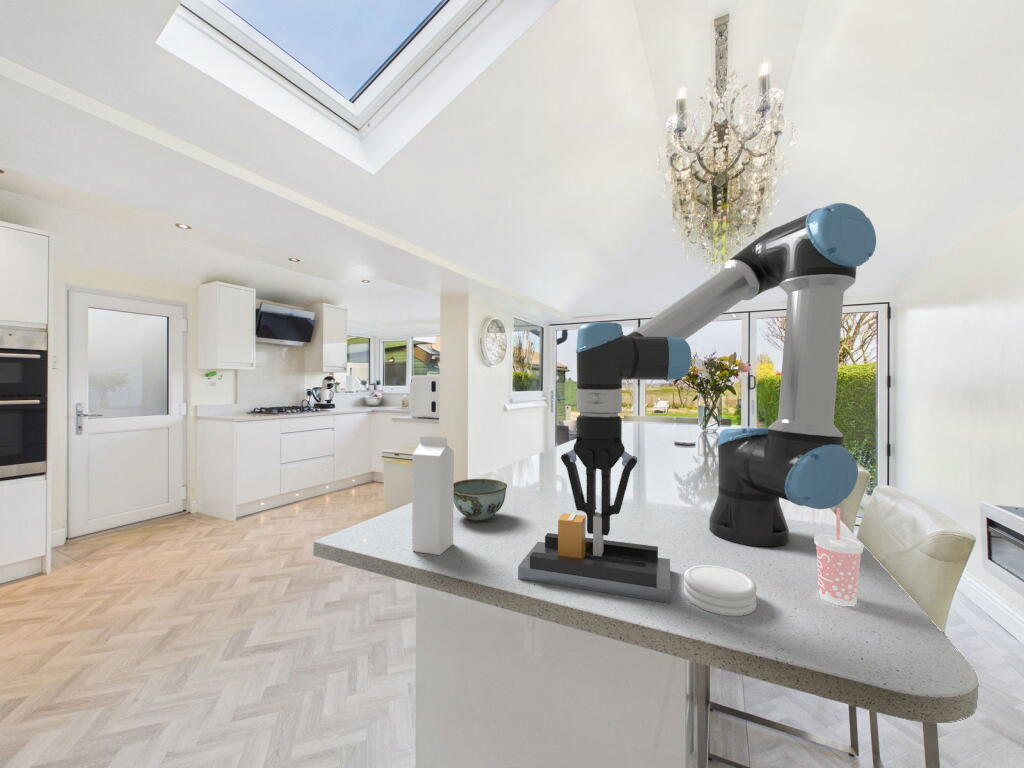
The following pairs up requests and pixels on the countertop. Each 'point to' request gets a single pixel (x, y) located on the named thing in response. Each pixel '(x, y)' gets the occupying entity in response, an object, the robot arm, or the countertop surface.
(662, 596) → the panel
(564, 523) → the lever
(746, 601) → the coaster
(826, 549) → the beverage cup
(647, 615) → the countertop surface
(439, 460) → the milk
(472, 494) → the bowl
